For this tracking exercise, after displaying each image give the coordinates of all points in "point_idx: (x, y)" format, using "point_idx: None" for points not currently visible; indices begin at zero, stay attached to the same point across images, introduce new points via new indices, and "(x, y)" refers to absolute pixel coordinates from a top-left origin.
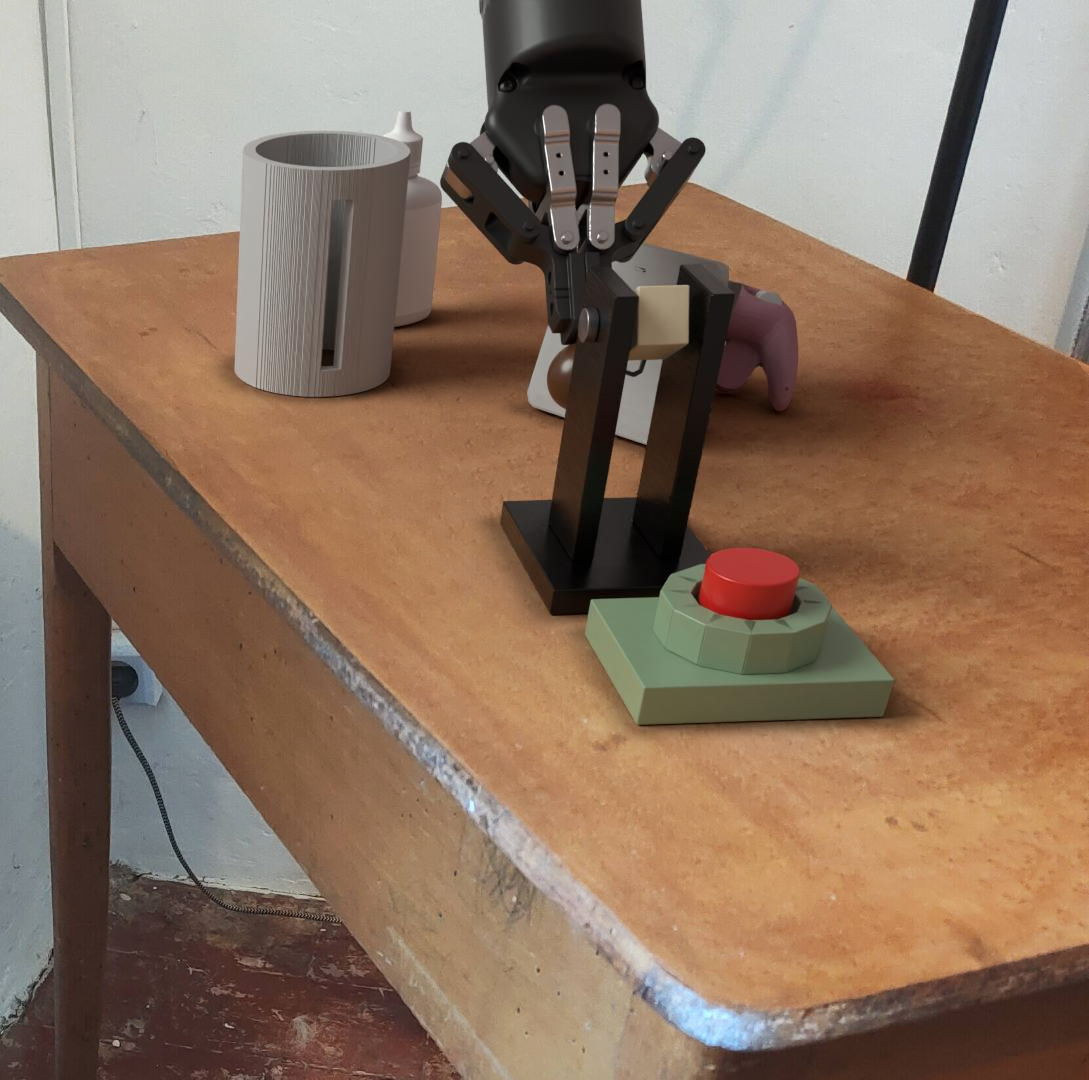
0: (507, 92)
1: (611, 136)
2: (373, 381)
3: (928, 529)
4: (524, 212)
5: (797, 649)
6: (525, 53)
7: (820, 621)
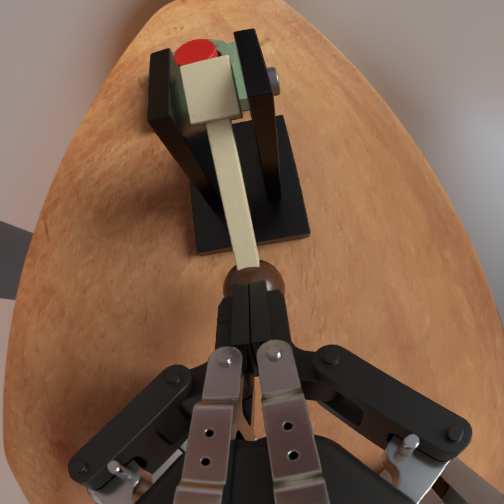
0: None
1: (192, 485)
2: (381, 475)
3: (70, 257)
4: (341, 374)
5: None
6: None
7: (173, 52)
